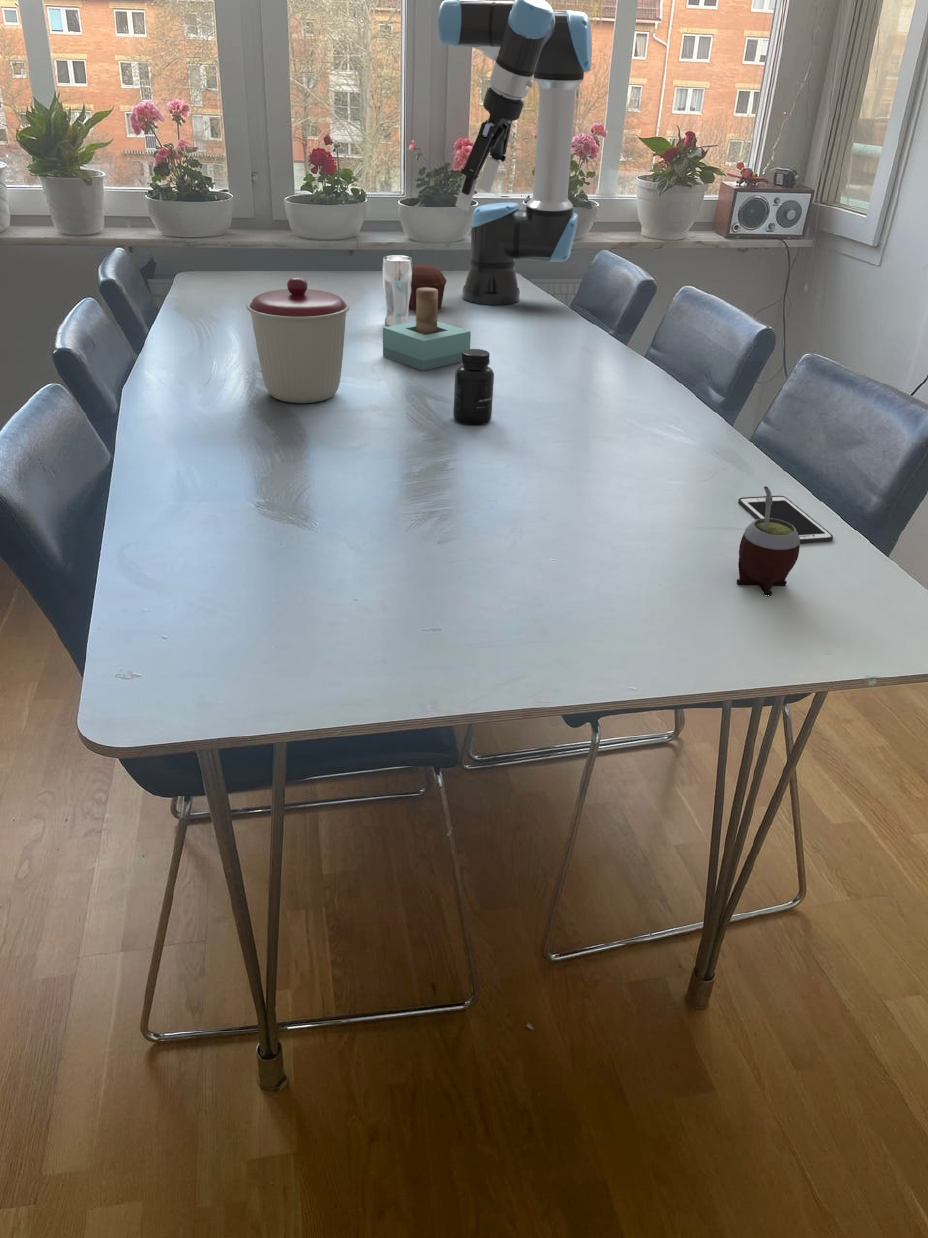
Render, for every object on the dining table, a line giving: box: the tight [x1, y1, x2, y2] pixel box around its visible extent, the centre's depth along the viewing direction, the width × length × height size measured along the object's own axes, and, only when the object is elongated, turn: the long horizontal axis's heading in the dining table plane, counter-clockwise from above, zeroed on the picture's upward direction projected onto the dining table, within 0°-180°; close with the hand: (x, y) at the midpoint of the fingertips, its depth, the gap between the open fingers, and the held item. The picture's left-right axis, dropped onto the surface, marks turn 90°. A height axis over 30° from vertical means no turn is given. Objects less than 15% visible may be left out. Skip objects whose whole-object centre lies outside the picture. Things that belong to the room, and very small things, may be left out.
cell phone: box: [737, 495, 834, 545], centre depth 136 cm, size 8×15×1 cm, turn 12°
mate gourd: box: [736, 485, 801, 597], centre depth 115 cm, size 8×8×15 cm
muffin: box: [409, 263, 448, 311], centre depth 237 cm, size 12×11×10 cm
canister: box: [245, 276, 350, 404], centre depth 170 cm, size 18×18×21 cm
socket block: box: [382, 320, 472, 372], centre depth 198 cm, size 13×13×6 cm
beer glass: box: [381, 254, 413, 327], centre depth 219 cm, size 7×7×15 cm
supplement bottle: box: [452, 348, 495, 426], centre depth 165 cm, size 7×7×12 cm
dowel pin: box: [415, 288, 439, 335], centre depth 196 cm, size 4×4×12 cm
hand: (473, 198), depth 195 cm, fingers open, 13 cm apart
